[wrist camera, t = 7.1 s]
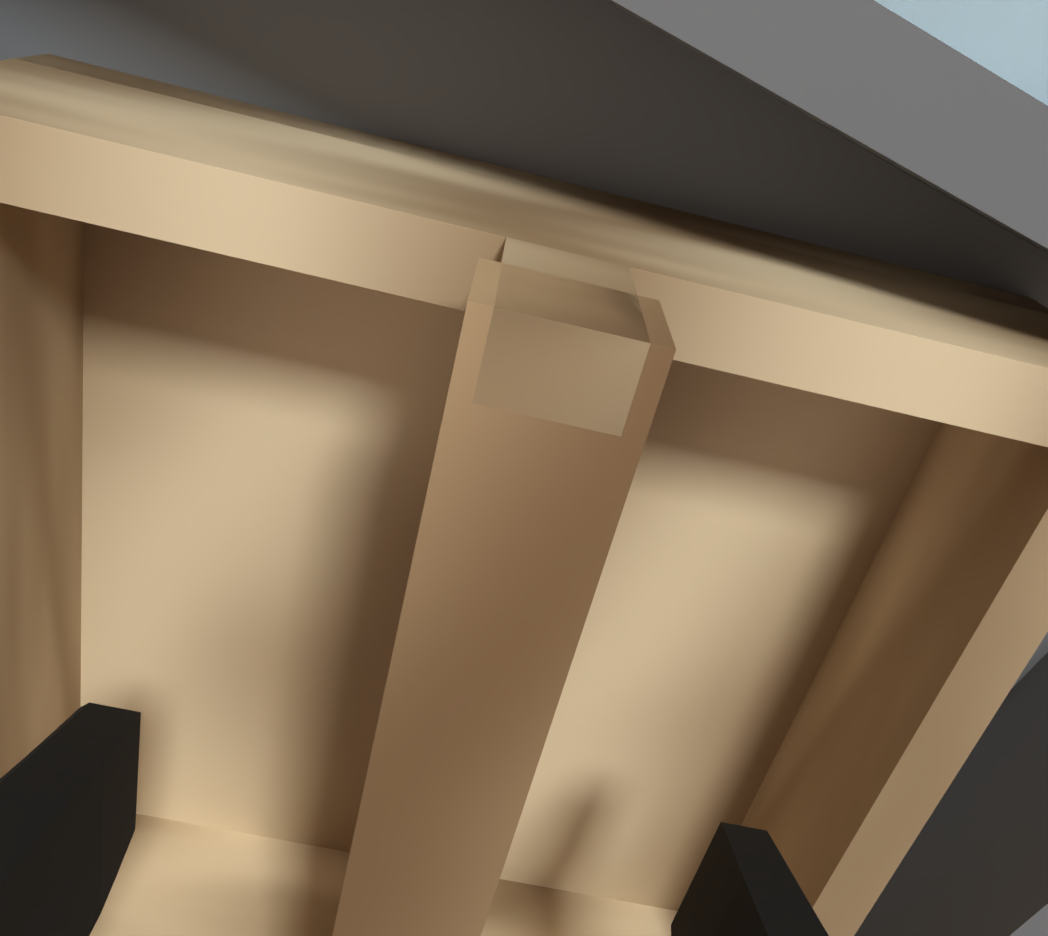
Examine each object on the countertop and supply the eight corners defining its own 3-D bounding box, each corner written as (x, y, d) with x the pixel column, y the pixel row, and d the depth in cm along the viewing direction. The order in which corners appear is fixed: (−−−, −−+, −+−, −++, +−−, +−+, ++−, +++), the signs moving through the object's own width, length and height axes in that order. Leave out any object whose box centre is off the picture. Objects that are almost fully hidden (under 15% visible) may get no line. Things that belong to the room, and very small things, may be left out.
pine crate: (1031, 297, 12) (1355, 509, 7) (716, 910, 18) (778, 1254, 13) (48, 52, 11) (-351, 108, 6) (55, 790, 17) (-145, 1118, 12)
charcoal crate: (1365, 347, 13) (1660, 478, 10) (665, 1050, 22) (687, 1255, 18) (-13, -471, 10) (-344, -739, 6) (-207, 765, 18) (-390, 953, 15)
